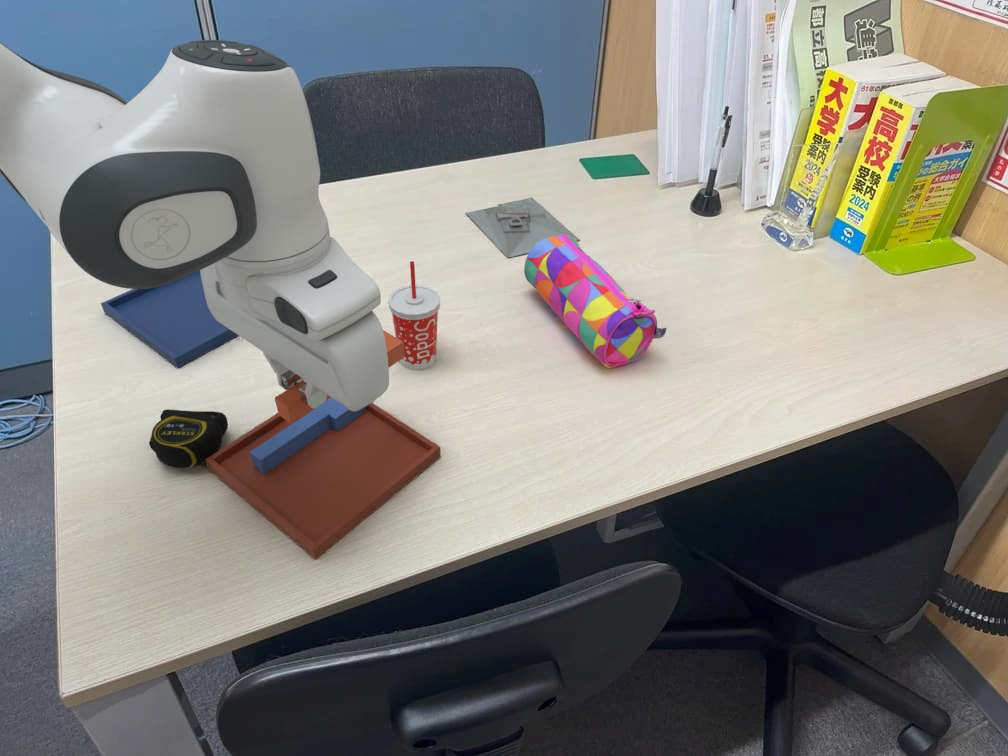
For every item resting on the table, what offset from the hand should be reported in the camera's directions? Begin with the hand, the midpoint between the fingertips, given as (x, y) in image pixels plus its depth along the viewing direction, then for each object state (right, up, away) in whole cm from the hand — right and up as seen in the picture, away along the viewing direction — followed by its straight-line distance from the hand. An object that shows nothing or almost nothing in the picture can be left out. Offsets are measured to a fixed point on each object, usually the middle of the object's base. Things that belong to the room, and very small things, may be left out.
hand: (303, 394), depth 65 cm
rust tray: (-1, -8, +11) cm, 13 cm away
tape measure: (-16, -6, +12) cm, 21 cm away
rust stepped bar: (+3, +1, +4) cm, 5 cm away
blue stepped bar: (-2, -4, +14) cm, 15 cm away
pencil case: (+29, +9, +31) cm, 44 cm away
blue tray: (-23, +11, +31) cm, 40 cm away
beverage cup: (+7, +4, +25) cm, 26 cm away
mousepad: (+17, +28, +53) cm, 62 cm away
